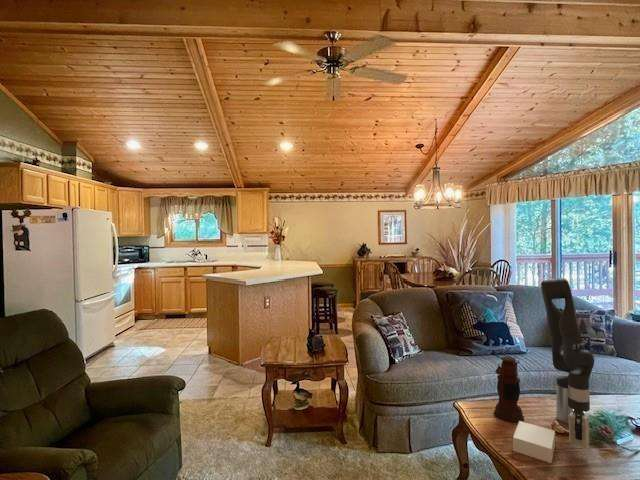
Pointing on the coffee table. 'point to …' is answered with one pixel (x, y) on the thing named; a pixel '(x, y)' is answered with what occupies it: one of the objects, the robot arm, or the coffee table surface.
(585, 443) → the skincare box
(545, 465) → the coffee table surface
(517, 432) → the cream box
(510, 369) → the dark brown tall piece
